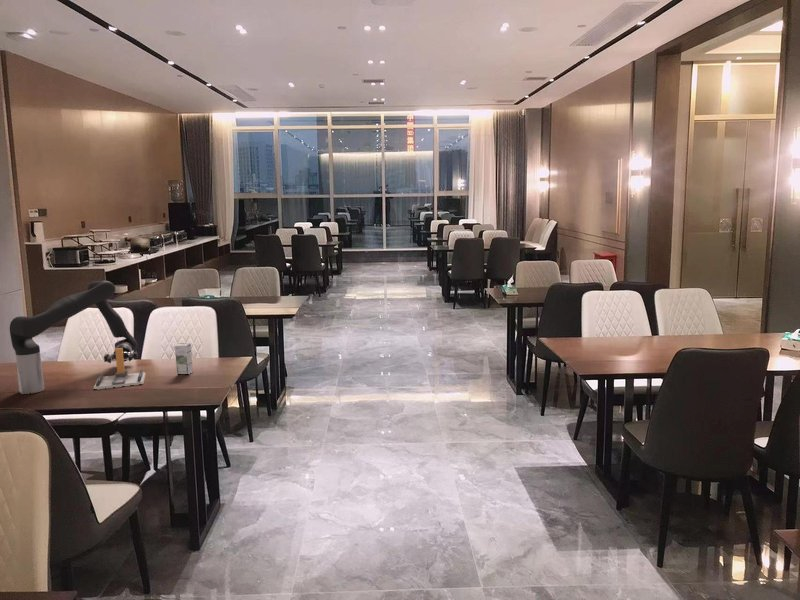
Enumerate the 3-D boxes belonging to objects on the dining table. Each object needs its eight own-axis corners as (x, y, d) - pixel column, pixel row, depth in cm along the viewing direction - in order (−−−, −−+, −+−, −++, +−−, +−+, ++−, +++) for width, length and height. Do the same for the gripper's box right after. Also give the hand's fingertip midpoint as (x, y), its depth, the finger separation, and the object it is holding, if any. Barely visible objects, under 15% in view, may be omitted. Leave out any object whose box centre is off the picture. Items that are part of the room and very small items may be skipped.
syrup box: (193, 371, 303) (191, 342, 301) (188, 375, 297) (185, 345, 295) (182, 372, 304) (179, 342, 302) (176, 375, 298) (174, 345, 296)
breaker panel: (93, 389, 278) (93, 384, 277) (99, 379, 295) (98, 374, 294) (142, 384, 284) (142, 378, 284) (145, 374, 301) (144, 369, 300)
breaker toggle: (114, 375, 292) (112, 349, 290) (115, 373, 295) (113, 348, 293) (127, 373, 293) (124, 348, 292) (127, 372, 296) (125, 347, 295)
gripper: (106, 346, 304) (101, 353, 289) (138, 343, 308) (135, 350, 293) (107, 361, 305) (103, 369, 290) (139, 358, 309) (137, 366, 294)
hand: (119, 359), depth 291 cm, fingers open, 8 cm apart
